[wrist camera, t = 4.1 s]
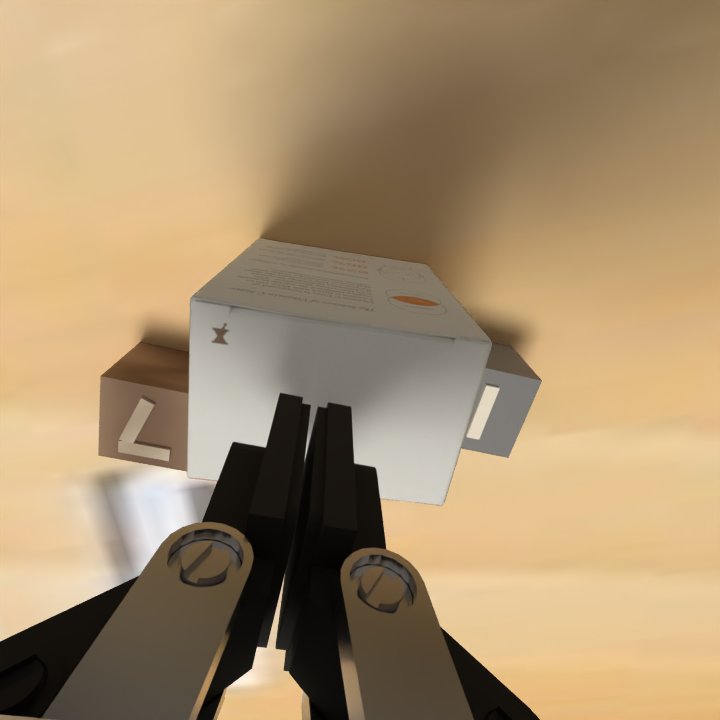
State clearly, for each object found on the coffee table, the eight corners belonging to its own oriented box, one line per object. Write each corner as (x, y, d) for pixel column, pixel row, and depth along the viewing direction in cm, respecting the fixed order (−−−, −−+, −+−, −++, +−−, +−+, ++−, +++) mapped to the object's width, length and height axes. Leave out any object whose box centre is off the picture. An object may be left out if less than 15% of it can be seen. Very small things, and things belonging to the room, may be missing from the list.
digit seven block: (222, 358, 23) (197, 397, 19) (212, 425, 25) (188, 473, 21) (140, 341, 23) (98, 377, 19) (136, 411, 24) (96, 457, 21)
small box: (249, 348, 23) (176, 482, 13) (258, 233, 21) (179, 294, 11) (406, 371, 24) (447, 514, 14) (431, 262, 22) (498, 343, 12)
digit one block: (511, 346, 23) (543, 382, 20) (484, 414, 25) (509, 459, 21) (436, 329, 23) (453, 362, 19) (413, 399, 24) (425, 442, 21)
